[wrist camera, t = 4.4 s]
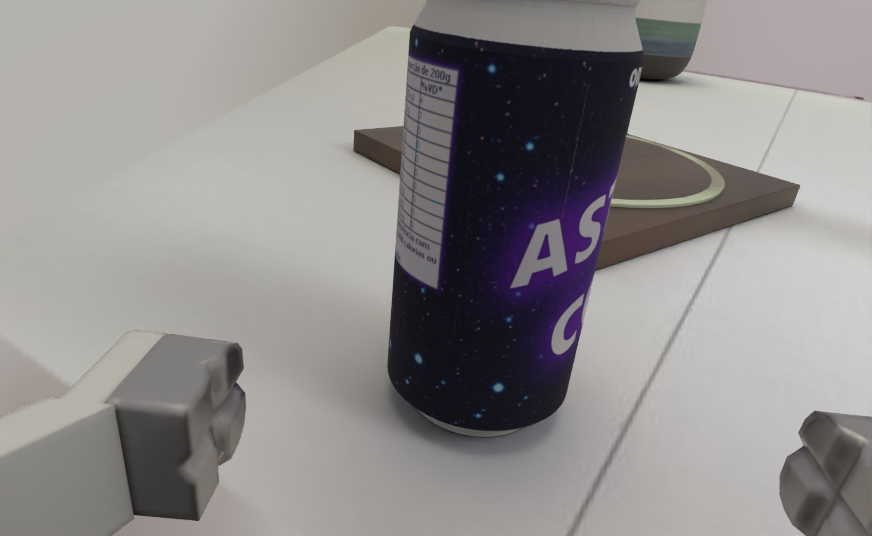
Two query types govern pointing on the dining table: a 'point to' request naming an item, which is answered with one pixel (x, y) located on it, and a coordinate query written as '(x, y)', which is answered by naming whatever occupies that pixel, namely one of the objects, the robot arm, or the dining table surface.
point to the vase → (668, 35)
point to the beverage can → (505, 201)
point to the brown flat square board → (649, 193)
